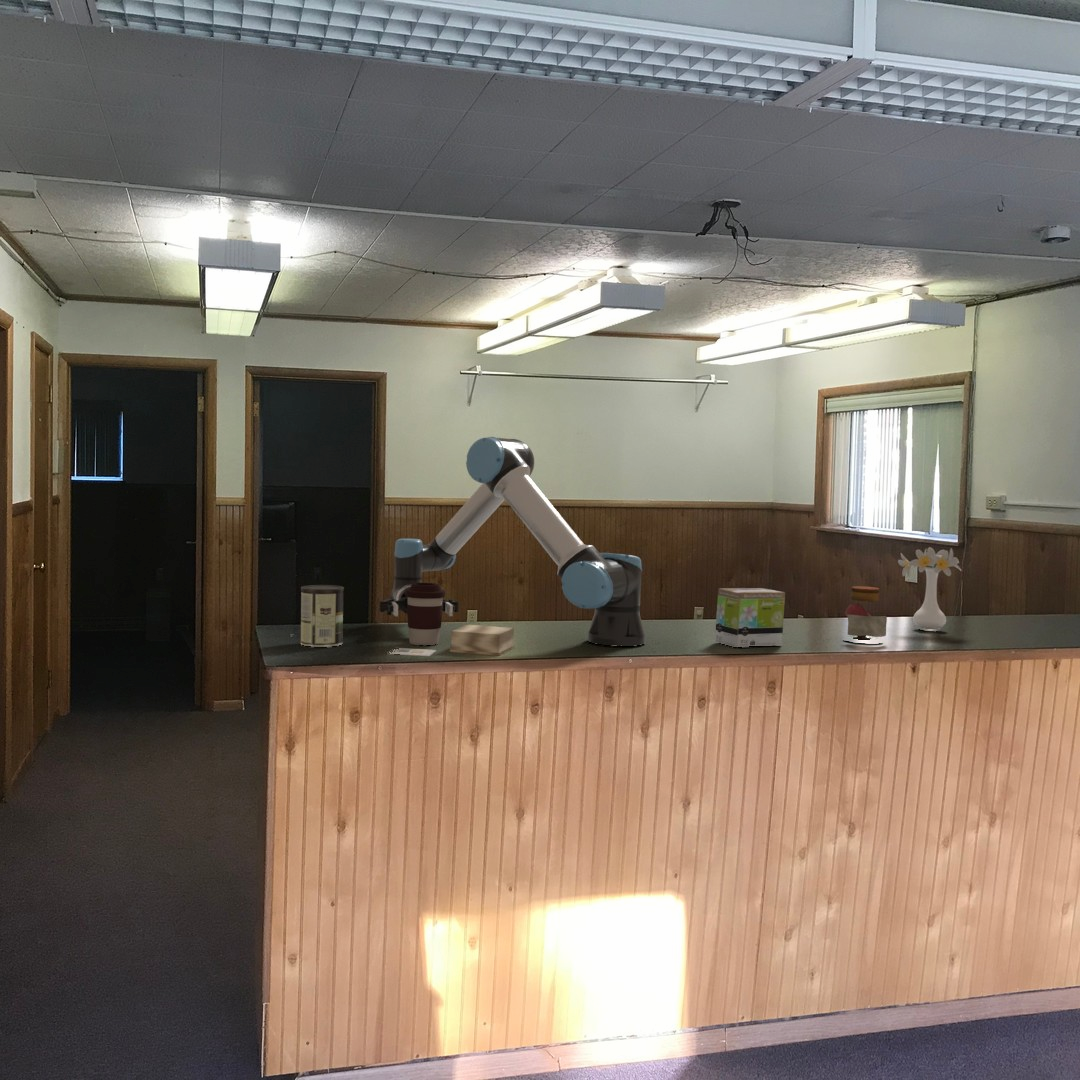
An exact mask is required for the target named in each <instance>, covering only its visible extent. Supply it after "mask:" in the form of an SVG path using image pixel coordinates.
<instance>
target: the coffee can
mask: <svg viewBox="0 0 1080 1080" xmlns="http://www.w3.org/2000/svg"><path fill="white" fill-rule="evenodd" d="M300 591H301V592H300V593H301V595H300V596H301V597H300V600H301V601H300V644H301V645H300V646H302V645H304V646H303V647H305V646H311V647H310V648H314V647H327V648H333V647H332V646H337V647H340V646H339V645H341V646H343V645H344V642H343V637H344V636H343V635H344V634H343V633H344V630H343V629H344V627H343V626H344V625H343V623H344V622H343V621H344V617H343V616H344V591H345V587H344V586H341V585H335V584H312V585H311V584H310V585H309V584H308V585H303V586H300ZM342 644H343V645H342Z"/></svg>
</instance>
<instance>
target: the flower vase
mask: <svg viewBox="0 0 1080 1080" xmlns="http://www.w3.org/2000/svg"><path fill="white" fill-rule="evenodd" d="M915 555H916V558H917V559H912V560H911V561H909V560H908V559H907V558H906V557H905V555H904V554H903V553H902V552H900V558H901V559H898V560H897V562H898V565H899V566H900V567H903V568H902V573H901V574H902V577H905V576H906V574H907V577H908V578H909V577H910V573H911V567H912V570H913V569H916V568H918V572H919V573H923V572H924V571H925V575H926V576H925V577H926V583H925V585H926V586H925V593H924V594H925V595H924V598H923V599H924V600H923V603H922V605H921V606H920V608H919V609H918V610H917V611H916V612H915V613H914V615H913V618H912V621H913V623H914V624H915V625H916V626H918V627H920V628H925V629H941V628H942V627H944V626H945V625H946V623H947V617H946V615H945V613H944V612H943V611H942V610H941V609H940V607H939V603H938V599H937V597H938V595H937V593H938V591H937V586H938V577H939V573H940V572H941V571H942V572H943V573H944V574H945V575H946V576H948V577H951V576H952V570H951V569H950V568H951V567H954V568H957V569H958V570H959V571H960V572H962V569H961V566H960V565H958V564H960V561H959V559H958V557H956V556H955V557H954V550H953V548H952V547H950V550H949V551H948V550H945V549H941V550H939V551H938V552H937V553H936V551H935V550H934V548H932V547H930V546H929V547H928V548H927V549H924V552H923V551H922V550H920V549H916V550H915Z"/></svg>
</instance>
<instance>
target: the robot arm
mask: <svg viewBox="0 0 1080 1080" xmlns="http://www.w3.org/2000/svg"><path fill="white" fill-rule="evenodd" d="M465 464H466V465H465V466H466V470H467V473H468V475H469V476H470V478H471V479H472V480H474V481H475V482H478V483H479V484H481V485H480V486H479V487H478V488H477V489H476V491H475V492H473V494H472V495H471V496H470V497H469V498H468V500H467V501H466V502H465V503H464V504H463V506H461V507H460V509H459V510H458V511H457V512H456V513H455V515H454V516H452V518H451V519H450V520H449V521H448V522H447V524H446V525H444V527H443V528H442V529H441V530H440V531H439V533H438V534H437V535H436V536H435V537H434V538H433V539H432V540H431V541H430V543H428V544H423V541H422V539H419V538H399V539H397V540H396V541H395V546H394V553H393V555H394V562H393V563H394V564H393V566H394V570H393V571H394V573H393V576H394V577H393V588H392V590H391V597H389V598H388V599H384V600H381V601H379V612H380V613H383V612H386V615H387V616H392V615H393V616H394V617H399V611H402V612H404V614H406V615H407V604H408V597H406V596H405V590H406V589H410V587H411V585H412V584H413V583H422V578H423V577H422V574H423V573H425V572H432V571H436V572H437V571H443V570H446V569H449V568H451V567H453V566H454V564H455V562H456V559H457V555H456V554H457V553H458V552H459V551H460V550H462V547H464V546H465V545H466V543H467V542H468V541H469V540H470V539H471V538H472V537H473V535H475V533H476V532H477V531H478V530H479V529H480V528H481V527H482V525H484V523H486V521H487V520H488V519H489V518H490V517H491V516H492V515H493V514H494V512H495V511H497V509H498V508H499V507H500V506H501V505H502V503H504V501H506V502H507V504H508V505H509V506H510V507H511V509H512V510H513V512H515V514H516V515H517V516H518V517H519V519H520V520H521V521H522V523H523V524H524V525H525V526H526V528H527V529H528V530H529V532H530V533H531V534H532V535H533V536H534V538H535V539H536V540H537V542H538V543H539V544H540V545H541V546H542V548H543V549H544V550H545V552H546V553H547V554H548V555H549V557H550V558H551V559H552V560H553V562H554V563H555V564H556V565H557V573H556V574H557V576H558V578H559V579H560V580H561V584H562V585H561V590H562V592H563V594H564V596H565V599H567V601H569V602H570V603H571V604H572V605H574V606H576V607H577V608H581V609H587V610H588V609H591V610H593V609H594V614H593V615H592V616H593V617H592V620H591V622H590V624H589V628H588V631H587V634H586V635H587V637H586V641H587V640H588V641H589V642H592V643H597V644H603V645H617V646H621V645H622V646H634V645H640V644H644V643H645V644H646V639H647V638H646V632H645V629H644V624H643V621H642V619H641V618H642V617H641V615H640V613H641V612H640V611H641V596H642V595H641V590H642V573H643V568H642V559H641V558H640V557H639V556H636V555H631V554H623V553H611V552H599V551H598V550H597V548H596V547H595V546H594V545H593V544H591V545H590V544H584V542H583V541H582V540H581V539H580V537H579V536H578V535H577V533H576V532H575V531H574V530H573V529H572V527H571V526H570V525H569V523H568V522H567V521H566V520H565V519H564V517H563V516H562V515H561V513H559V511H558V510H557V509H556V508H555V507H554V505H553V504H552V502H551V501H550V500H549V499H548V497H546V495H545V493H543V492H542V490H541V489H540V488H539V486H537V484H536V483H535V481H534V480H533V479H532V478H531V475H532V473H533V471H534V468H535V456H534V453H533V451H532V449H531V448H530V447H529V446H528V445H527V443H525V442H524V441H522V440H520V439H516V438H503V437H502V438H501V437H495V436H488V437H481V438H479V439H477V440H476V441H474V443H472V445H470V448H469V449H468V452H467V454H466V461H465ZM459 604H460V602H459V601H457V600H453V599H452V598H451V599H445V598H443V601H442V605H443V610H442V612H444V614H446V615H447V616H448V617H453V613H454V612H455V613H458V612H459V607H460V605H459ZM589 642H588V643H589ZM592 643H591V644H592ZM645 644H644V645H645ZM603 645H602V646H603ZM634 647H635V646H634Z"/></svg>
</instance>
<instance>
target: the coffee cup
mask: <svg viewBox="0 0 1080 1080" xmlns="http://www.w3.org/2000/svg"><path fill="white" fill-rule="evenodd" d="M405 596H406V597H408V604H407V614H406V616H407V627H408V641H409V644H411V645H413V646H419V645H423V646H422V647H424V646H425V647H427V646H426V645H431V646H436V645H438V644H439V641H440V630H441V627H442V618H443V611H442V610H443V605H442V601H443V599H444V598H445V597H446V590H444V589H441V586H440V584H439V583H434V582H421V583H413V584H412V585H411V587H410V589H406V590H405ZM435 644H436V645H435Z"/></svg>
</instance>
